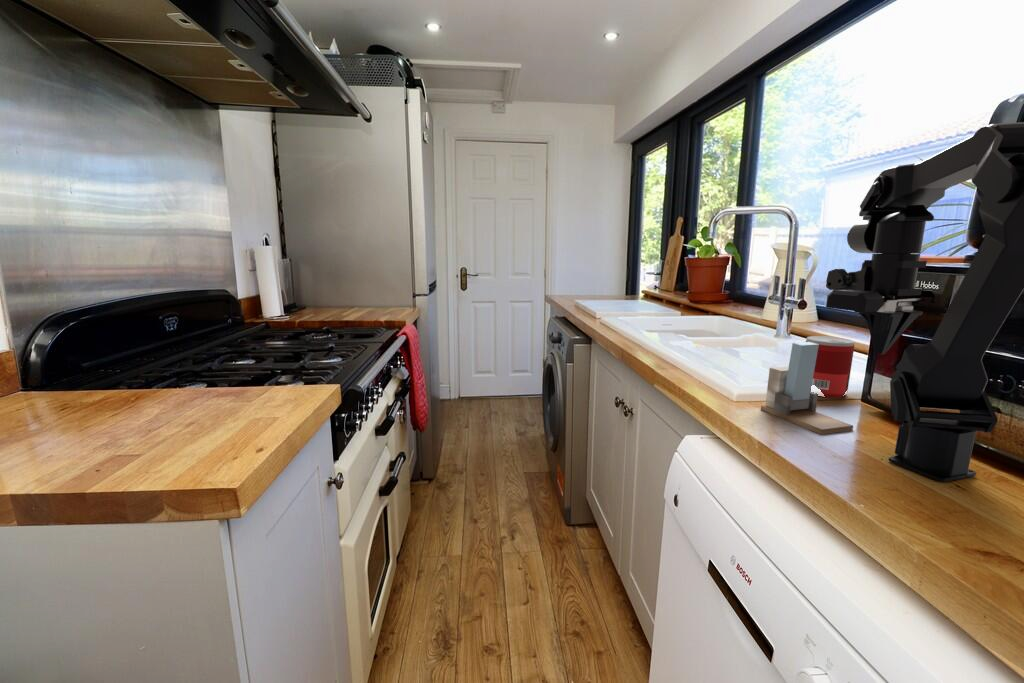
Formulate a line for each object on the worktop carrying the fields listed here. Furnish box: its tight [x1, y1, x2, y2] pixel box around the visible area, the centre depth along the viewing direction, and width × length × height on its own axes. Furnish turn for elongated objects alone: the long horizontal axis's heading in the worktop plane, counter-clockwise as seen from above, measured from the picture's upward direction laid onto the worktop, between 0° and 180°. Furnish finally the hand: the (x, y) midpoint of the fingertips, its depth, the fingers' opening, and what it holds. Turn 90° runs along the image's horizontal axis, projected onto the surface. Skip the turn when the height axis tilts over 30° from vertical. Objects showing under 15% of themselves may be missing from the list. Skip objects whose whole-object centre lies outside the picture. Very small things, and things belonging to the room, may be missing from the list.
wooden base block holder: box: [760, 365, 854, 435], centre depth 78 cm, size 12×6×8 cm, turn 16°
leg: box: [784, 341, 819, 410], centre depth 79 cm, size 2×4×11 cm, turn 106°
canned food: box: [805, 335, 855, 399], centre depth 93 cm, size 8×8×11 cm
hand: (879, 353), depth 74 cm, fingers closed
